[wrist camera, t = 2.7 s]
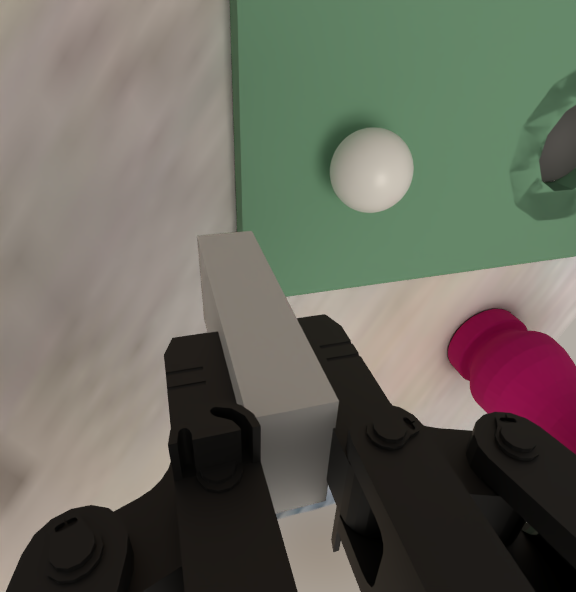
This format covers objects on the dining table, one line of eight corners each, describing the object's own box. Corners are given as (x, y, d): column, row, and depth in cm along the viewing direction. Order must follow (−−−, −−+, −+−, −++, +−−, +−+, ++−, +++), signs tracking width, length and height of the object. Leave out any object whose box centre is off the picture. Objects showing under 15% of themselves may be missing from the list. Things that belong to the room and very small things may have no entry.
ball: (315, 198, 24) (344, 229, 21) (321, 120, 22) (354, 141, 19) (383, 193, 25) (420, 222, 22) (394, 117, 23) (438, 137, 20)
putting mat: (238, 288, 28) (254, 326, 24) (228, -36, 19) (250, -42, 16) (595, 241, 35) (642, 266, 32) (705, -8, 26) (786, -8, 23)
